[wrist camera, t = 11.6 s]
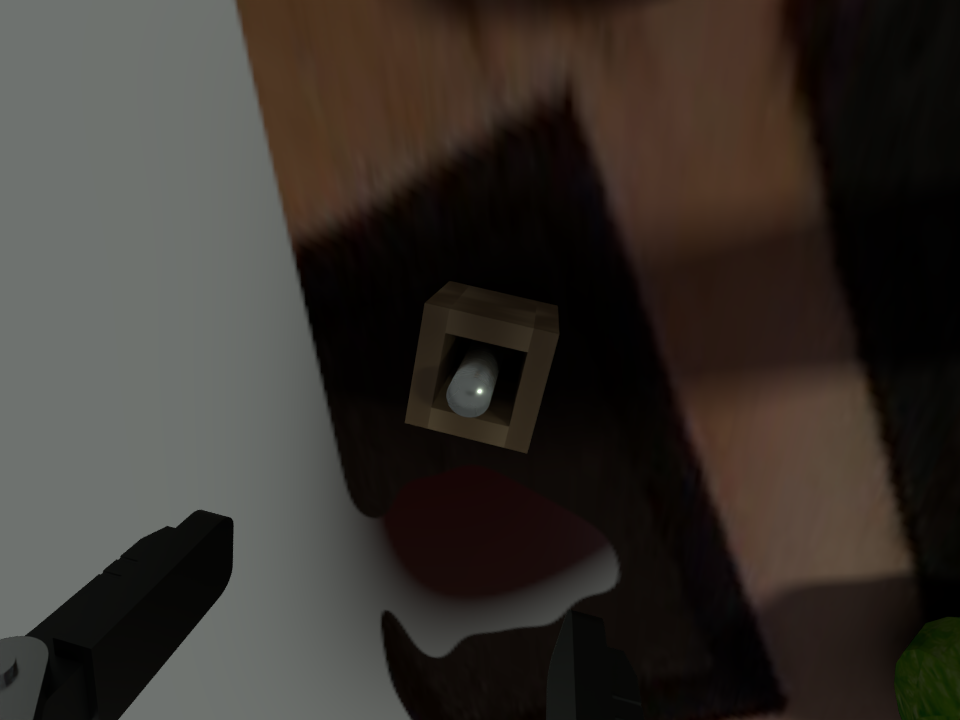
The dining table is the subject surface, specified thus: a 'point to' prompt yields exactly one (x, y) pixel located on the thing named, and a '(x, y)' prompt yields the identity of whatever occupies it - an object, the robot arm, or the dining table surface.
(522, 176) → the dining table surface
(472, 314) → the collar
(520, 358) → the post
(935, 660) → the lettuce
